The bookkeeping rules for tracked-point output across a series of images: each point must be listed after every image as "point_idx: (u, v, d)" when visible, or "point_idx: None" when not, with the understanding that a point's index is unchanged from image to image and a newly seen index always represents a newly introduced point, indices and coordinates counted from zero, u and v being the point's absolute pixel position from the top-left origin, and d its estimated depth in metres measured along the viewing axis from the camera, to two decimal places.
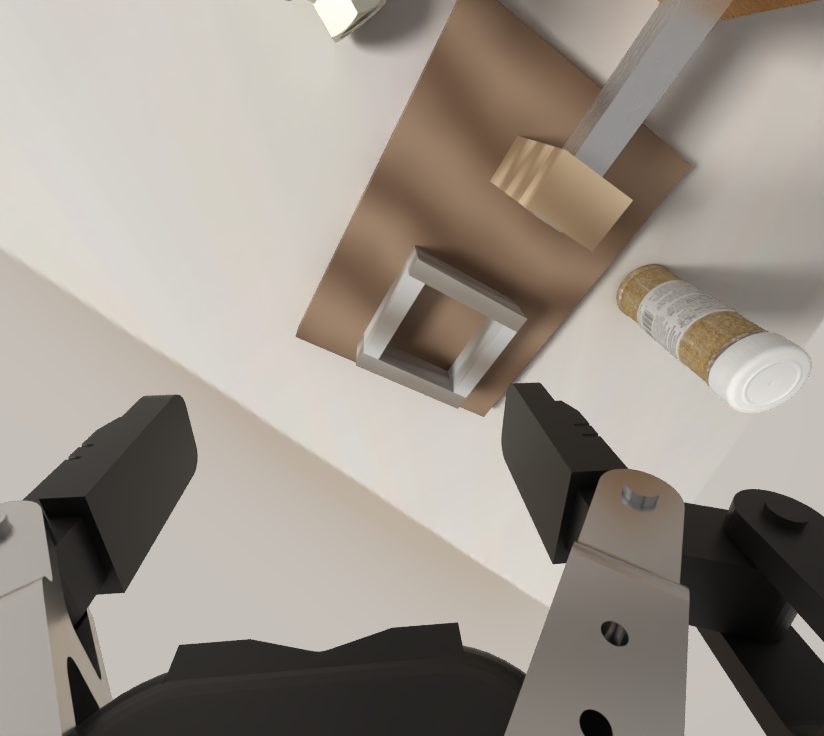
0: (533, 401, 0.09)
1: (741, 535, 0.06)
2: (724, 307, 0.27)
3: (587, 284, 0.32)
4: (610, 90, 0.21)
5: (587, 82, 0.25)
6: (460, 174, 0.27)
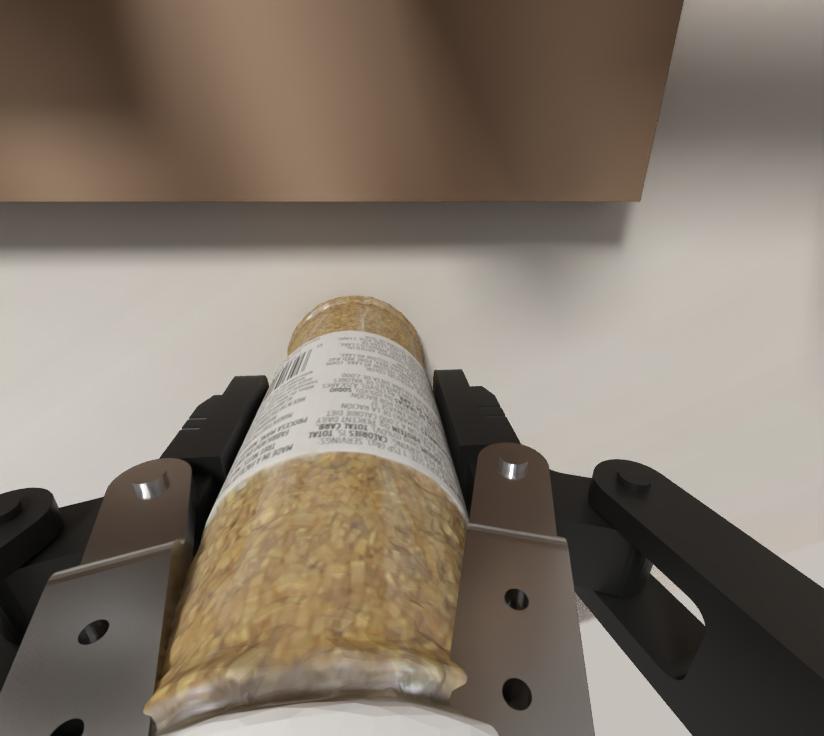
0: (449, 385, 0.10)
1: (605, 507, 0.07)
2: (461, 498, 0.07)
3: (276, 184, 0.11)
4: None
5: None
6: None
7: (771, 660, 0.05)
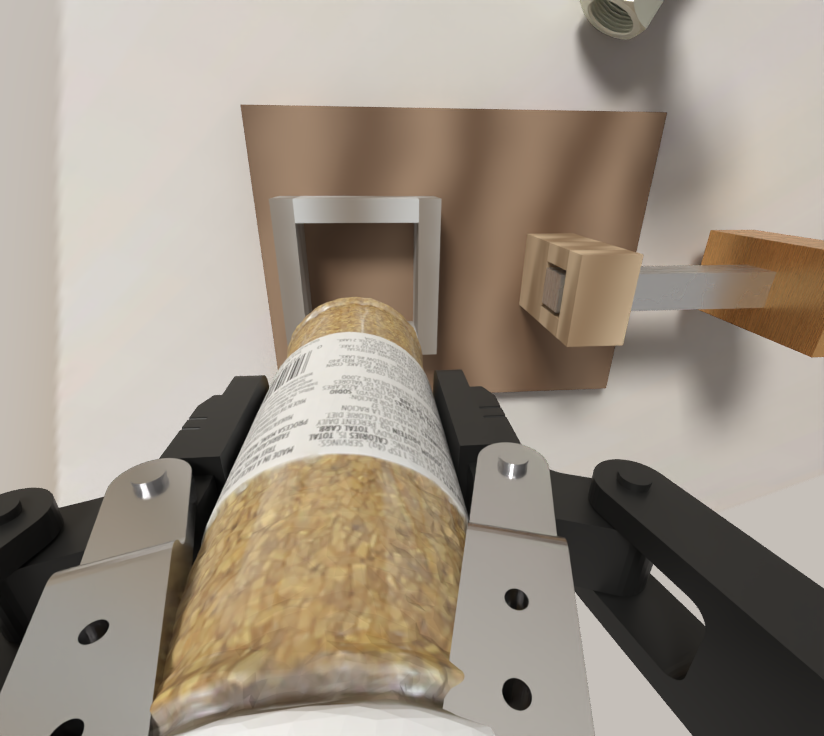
0: (449, 385, 0.10)
1: (605, 507, 0.07)
2: (461, 500, 0.07)
3: None
4: (669, 269, 0.23)
5: None
6: (521, 201, 0.26)
7: (771, 660, 0.05)
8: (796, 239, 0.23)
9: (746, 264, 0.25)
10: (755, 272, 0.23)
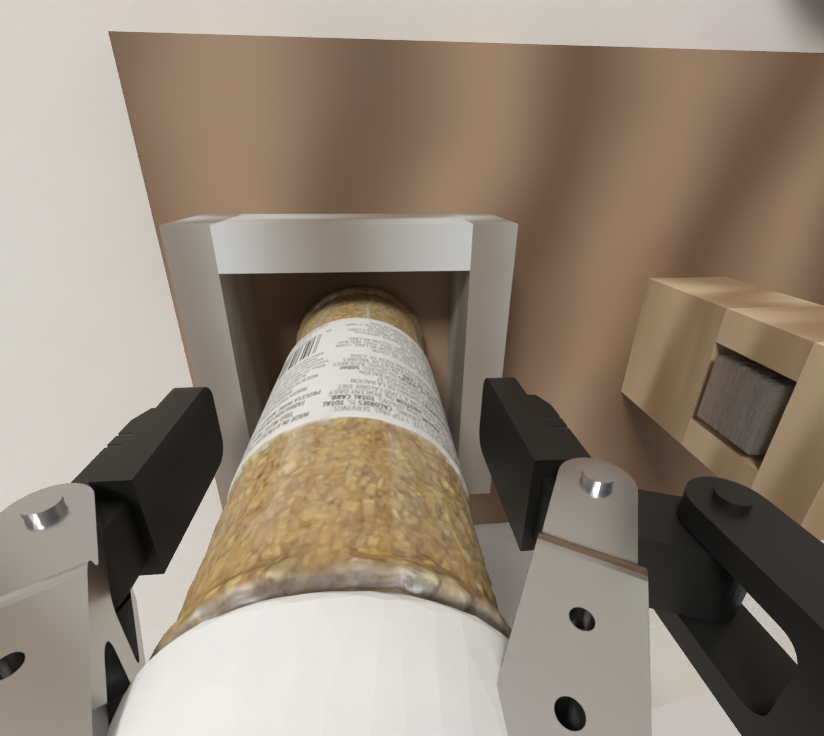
0: (506, 394, 0.10)
1: (694, 523, 0.06)
2: (457, 463, 0.08)
3: None
4: None
5: None
6: (644, 222, 0.14)
7: None
8: None
9: None
10: None
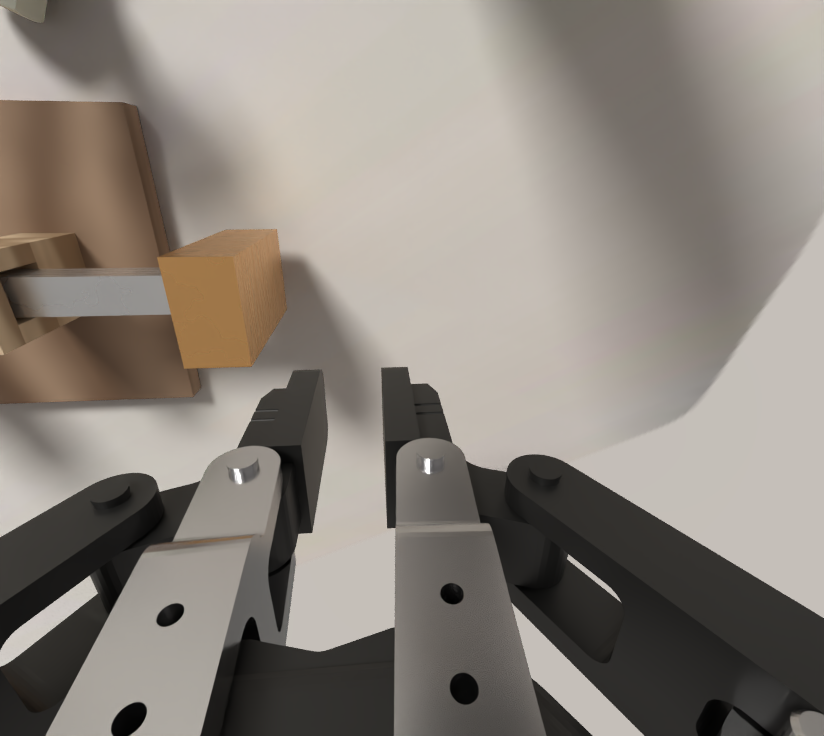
0: (390, 382, 0.10)
1: (521, 506, 0.07)
2: None
3: (46, 397, 0.29)
4: (92, 272, 0.21)
5: (158, 264, 0.26)
6: None
7: (683, 633, 0.05)
8: (236, 239, 0.22)
9: None
10: None
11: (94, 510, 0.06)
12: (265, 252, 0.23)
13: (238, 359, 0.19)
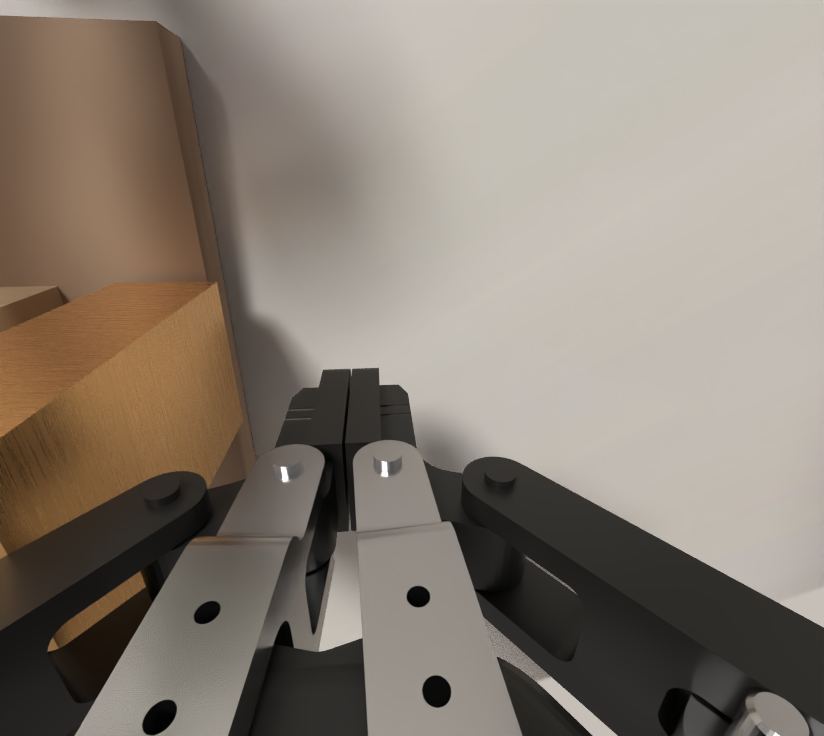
0: (359, 383, 0.10)
1: (479, 512, 0.07)
2: None
3: None
4: None
5: None
6: None
7: (642, 626, 0.05)
8: (95, 328, 0.09)
9: None
10: None
11: (146, 507, 0.06)
12: (173, 348, 0.10)
13: None
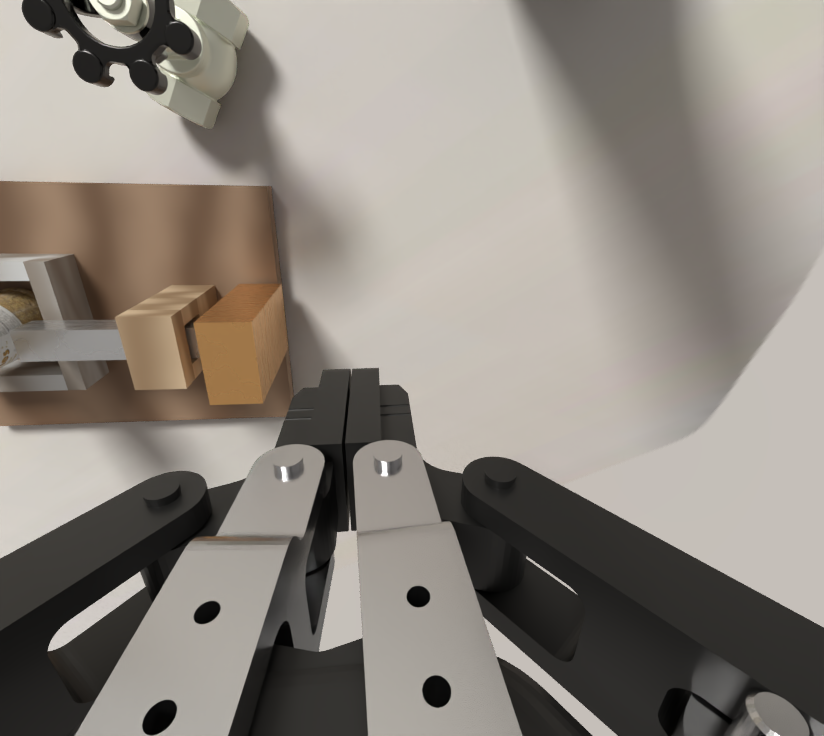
0: (359, 384, 0.10)
1: (479, 512, 0.07)
2: None
3: (171, 416, 0.35)
4: None
5: None
6: (156, 258, 0.30)
7: (642, 626, 0.05)
8: (250, 298, 0.27)
9: None
10: None
11: (146, 507, 0.06)
12: (273, 307, 0.28)
13: (252, 398, 0.25)
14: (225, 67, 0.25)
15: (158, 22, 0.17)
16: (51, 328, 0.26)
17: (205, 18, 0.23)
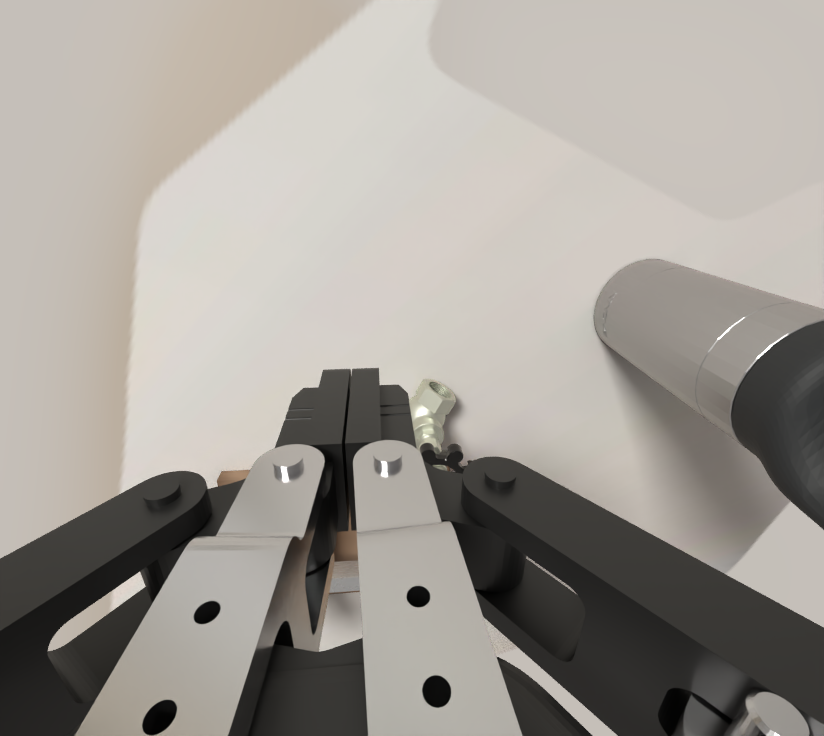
0: (359, 383, 0.10)
1: (479, 512, 0.07)
2: None
3: None
4: None
5: None
6: None
7: (642, 626, 0.05)
8: None
9: None
10: None
11: (146, 507, 0.06)
12: None
13: None
14: None
15: None
16: (332, 576, 0.42)
17: (438, 412, 0.39)
